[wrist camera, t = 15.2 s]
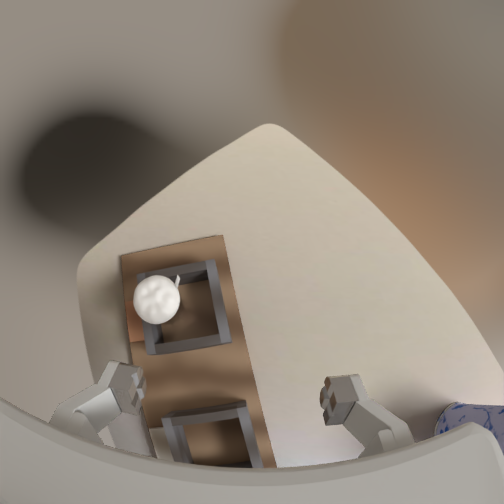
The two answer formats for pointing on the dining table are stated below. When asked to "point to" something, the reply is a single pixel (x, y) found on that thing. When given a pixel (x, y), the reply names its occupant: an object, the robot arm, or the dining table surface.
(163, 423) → the port board
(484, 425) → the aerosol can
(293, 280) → the dining table surface
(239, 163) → the dining table surface
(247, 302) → the dining table surface
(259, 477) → the robot arm
